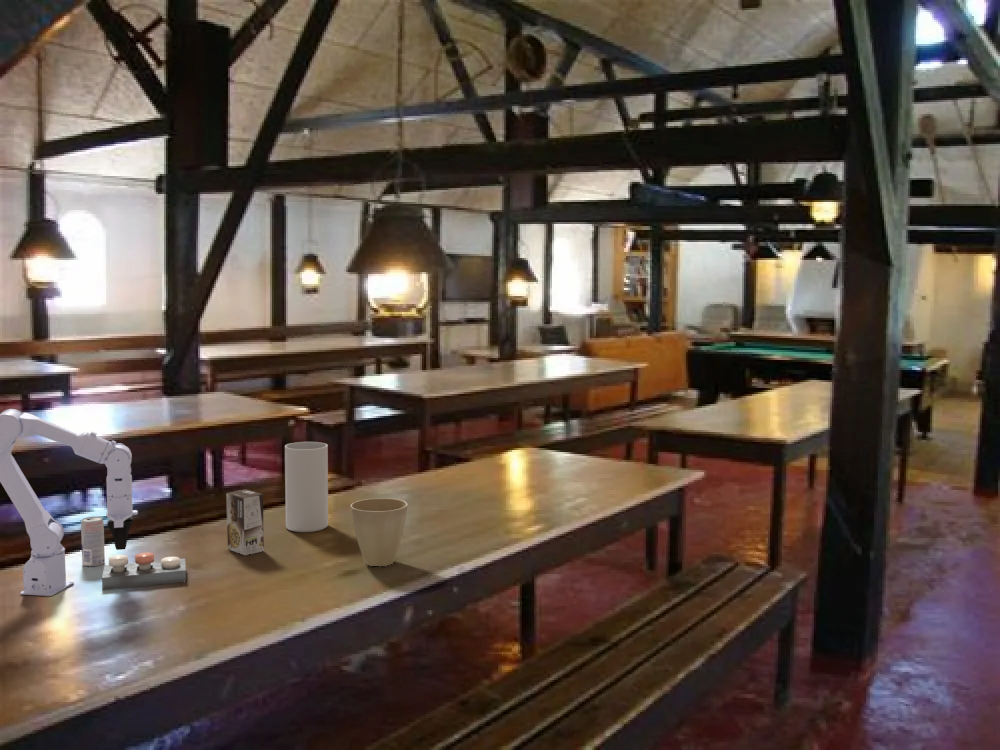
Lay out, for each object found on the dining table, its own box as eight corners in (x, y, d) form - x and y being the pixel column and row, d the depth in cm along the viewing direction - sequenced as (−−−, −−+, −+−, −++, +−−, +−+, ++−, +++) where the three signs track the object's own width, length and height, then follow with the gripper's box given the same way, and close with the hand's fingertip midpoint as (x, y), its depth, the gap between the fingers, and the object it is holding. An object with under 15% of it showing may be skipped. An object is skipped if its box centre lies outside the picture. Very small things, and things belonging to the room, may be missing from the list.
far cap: (161, 578, 227) (161, 562, 227) (161, 573, 231) (161, 557, 231) (180, 577, 229) (179, 561, 228) (180, 571, 233) (179, 556, 232)
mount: (102, 589, 220) (101, 577, 220) (105, 576, 230) (104, 565, 229) (185, 582, 227) (185, 570, 226) (185, 569, 236) (185, 558, 236)
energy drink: (98, 559, 243) (97, 515, 242) (108, 563, 240) (107, 518, 239) (78, 564, 239) (76, 519, 238) (88, 568, 236) (87, 522, 235)
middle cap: (135, 574, 225) (134, 558, 225) (135, 569, 229) (135, 553, 229) (154, 573, 227) (153, 557, 226) (154, 567, 231) (154, 551, 230)
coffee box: (265, 551, 253) (264, 493, 251) (244, 556, 248) (243, 497, 246) (247, 544, 259) (246, 488, 257) (226, 549, 254) (225, 492, 252)
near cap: (108, 577, 223) (108, 560, 223) (109, 571, 227) (109, 555, 227) (128, 575, 225) (127, 559, 224) (128, 570, 229) (128, 554, 228)
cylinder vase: (333, 522, 283) (332, 442, 280) (321, 533, 270) (320, 450, 267) (293, 521, 284) (292, 441, 281) (280, 532, 271) (279, 448, 269)
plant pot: (415, 557, 249) (415, 499, 247) (394, 574, 235) (394, 513, 233) (364, 552, 253) (364, 495, 251) (341, 568, 239) (340, 508, 237)
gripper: (136, 500, 218) (137, 556, 220) (138, 487, 232) (139, 539, 233) (103, 502, 216) (105, 558, 218) (107, 488, 230) (109, 541, 231)
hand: (120, 548), depth 225 cm, fingers closed
